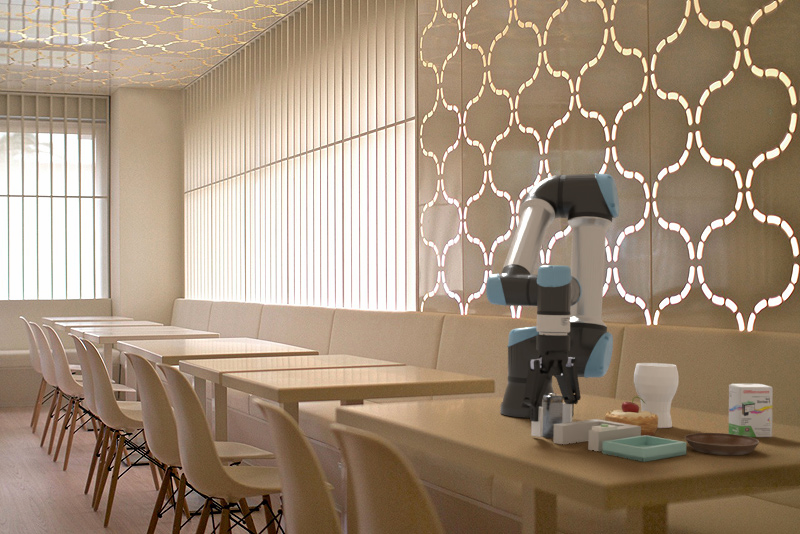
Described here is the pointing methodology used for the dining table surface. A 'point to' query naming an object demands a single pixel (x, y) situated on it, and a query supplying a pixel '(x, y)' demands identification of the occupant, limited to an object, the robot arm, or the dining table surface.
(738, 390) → the ink box
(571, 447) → the dining table surface
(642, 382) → the cup
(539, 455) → the dining table surface
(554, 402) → the cell
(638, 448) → the trough
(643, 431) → the pastry
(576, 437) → the white hook bar
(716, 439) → the saucer
